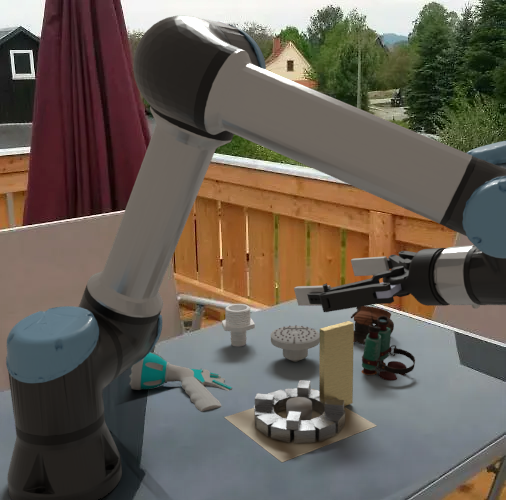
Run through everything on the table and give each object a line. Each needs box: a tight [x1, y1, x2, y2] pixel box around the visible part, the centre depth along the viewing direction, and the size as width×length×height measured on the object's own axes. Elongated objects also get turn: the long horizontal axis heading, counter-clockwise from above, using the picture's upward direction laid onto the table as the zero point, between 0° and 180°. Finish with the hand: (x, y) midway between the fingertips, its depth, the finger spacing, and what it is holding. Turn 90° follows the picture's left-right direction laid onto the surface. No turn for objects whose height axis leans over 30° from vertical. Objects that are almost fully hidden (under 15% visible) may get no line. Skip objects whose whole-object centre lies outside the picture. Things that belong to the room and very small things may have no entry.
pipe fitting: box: [221, 303, 255, 348], centre depth 139 cm, size 6×7×8 cm
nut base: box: [223, 388, 378, 463], centre depth 104 cm, size 18×16×4 cm
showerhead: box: [270, 324, 320, 362], centre depth 127 cm, size 9×7×10 cm
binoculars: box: [361, 316, 416, 381], centre depth 121 cm, size 9×11×10 cm
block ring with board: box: [253, 320, 355, 443], centre depth 104 cm, size 18×14×14 cm
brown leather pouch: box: [350, 305, 395, 345], centre depth 140 cm, size 12×10×8 cm
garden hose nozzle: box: [128, 351, 233, 412], centre depth 117 cm, size 7×18×20 cm
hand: (326, 281), depth 102 cm, fingers open, 13 cm apart
